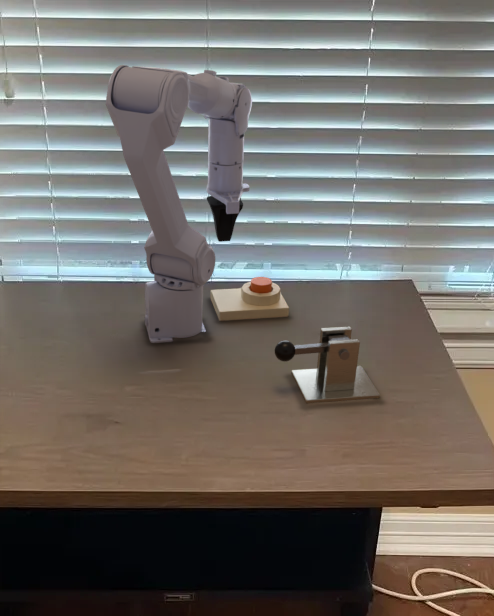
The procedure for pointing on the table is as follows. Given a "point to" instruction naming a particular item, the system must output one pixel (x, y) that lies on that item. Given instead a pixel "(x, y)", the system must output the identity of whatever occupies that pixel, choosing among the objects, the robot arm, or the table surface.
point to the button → (261, 285)
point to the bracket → (336, 372)
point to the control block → (248, 303)
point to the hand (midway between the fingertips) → (223, 239)
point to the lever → (303, 348)
